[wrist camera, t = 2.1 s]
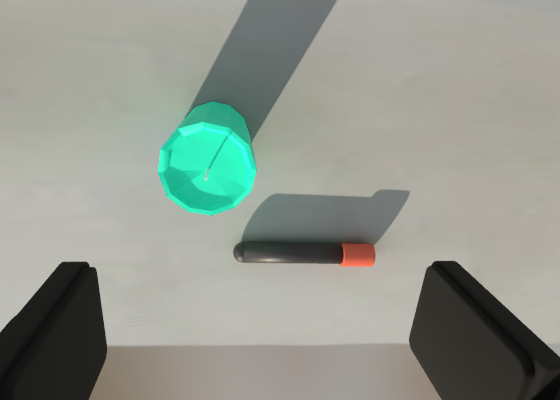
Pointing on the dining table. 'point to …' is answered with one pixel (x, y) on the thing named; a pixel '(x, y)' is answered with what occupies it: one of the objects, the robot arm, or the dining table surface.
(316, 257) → the marker
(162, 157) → the candle
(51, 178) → the dining table surface
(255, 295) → the dining table surface
